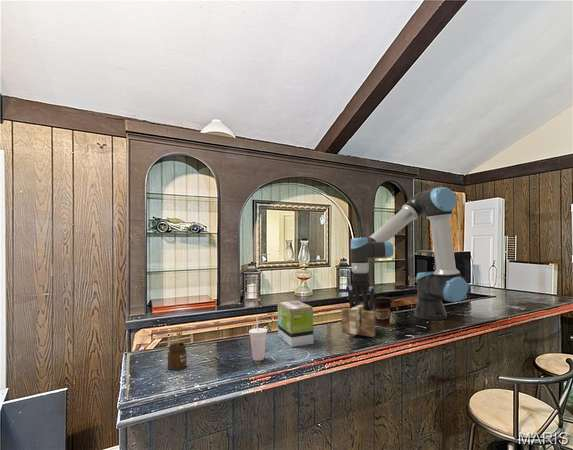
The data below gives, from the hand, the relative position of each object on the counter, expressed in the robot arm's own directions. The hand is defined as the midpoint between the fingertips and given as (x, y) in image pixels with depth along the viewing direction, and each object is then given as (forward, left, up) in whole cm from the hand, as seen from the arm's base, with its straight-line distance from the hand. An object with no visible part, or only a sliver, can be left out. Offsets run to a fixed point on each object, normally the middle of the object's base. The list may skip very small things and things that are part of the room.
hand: (362, 325), depth 141 cm
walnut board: (0, +5, -3) cm, 5 cm away
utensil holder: (+38, +69, -3) cm, 78 cm away
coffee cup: (-5, -14, -3) cm, 16 cm away
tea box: (+19, +26, -3) cm, 32 cm away
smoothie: (+19, +50, -3) cm, 53 cm away
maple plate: (0, +5, -1) cm, 5 cm away
